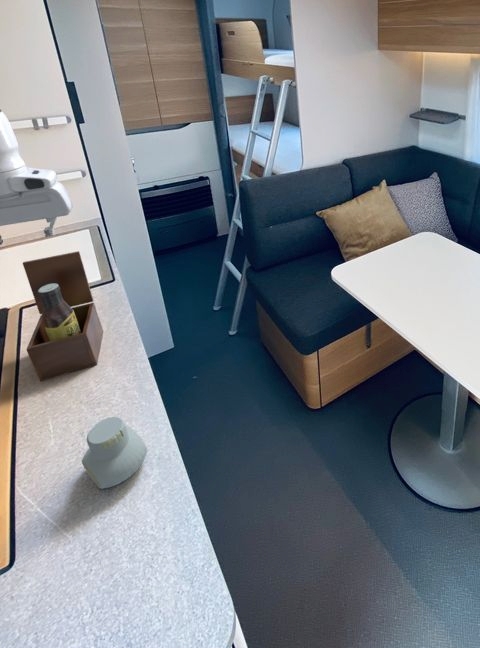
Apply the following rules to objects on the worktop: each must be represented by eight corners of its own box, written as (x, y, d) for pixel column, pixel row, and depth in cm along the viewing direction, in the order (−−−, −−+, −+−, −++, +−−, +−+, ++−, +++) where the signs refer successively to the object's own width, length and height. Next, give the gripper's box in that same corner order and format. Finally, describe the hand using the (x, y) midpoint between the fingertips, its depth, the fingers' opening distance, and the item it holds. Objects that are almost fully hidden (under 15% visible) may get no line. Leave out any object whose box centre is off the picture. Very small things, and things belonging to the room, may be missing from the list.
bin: (97, 364, 102) (85, 333, 98) (40, 381, 97) (26, 349, 94) (103, 331, 113) (93, 302, 109) (52, 345, 109) (40, 315, 105)
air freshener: (82, 468, 78) (66, 431, 74) (126, 435, 84) (114, 399, 80) (110, 503, 72) (94, 465, 68) (155, 464, 78) (143, 427, 74)
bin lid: (78, 252, 105) (82, 245, 109) (22, 263, 100) (28, 255, 105) (93, 301, 109) (96, 293, 113) (39, 314, 104) (45, 305, 109)
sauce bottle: (81, 360, 102) (57, 294, 95) (52, 365, 101) (25, 299, 93) (90, 342, 108) (67, 278, 101) (63, 347, 107) (38, 283, 99)
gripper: (-71, 194, 79) (-43, 257, 84) (58, 178, 87) (76, 236, 92) (-56, 184, 84) (-31, 244, 89) (63, 170, 92) (80, 225, 98)
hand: (24, 239), depth 91 cm, fingers open, 8 cm apart
